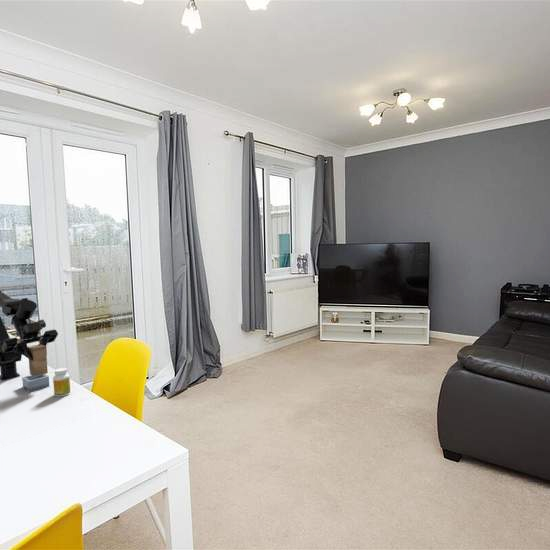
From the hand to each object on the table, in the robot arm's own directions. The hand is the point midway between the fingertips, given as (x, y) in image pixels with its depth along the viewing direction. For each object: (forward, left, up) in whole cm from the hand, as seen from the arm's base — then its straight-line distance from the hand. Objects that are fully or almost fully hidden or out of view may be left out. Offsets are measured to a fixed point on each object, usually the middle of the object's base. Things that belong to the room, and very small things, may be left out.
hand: (39, 358), depth 147 cm
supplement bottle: (+10, +4, -13) cm, 17 cm away
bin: (-6, 0, -13) cm, 15 cm away
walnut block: (-1, 0, -7) cm, 7 cm away
